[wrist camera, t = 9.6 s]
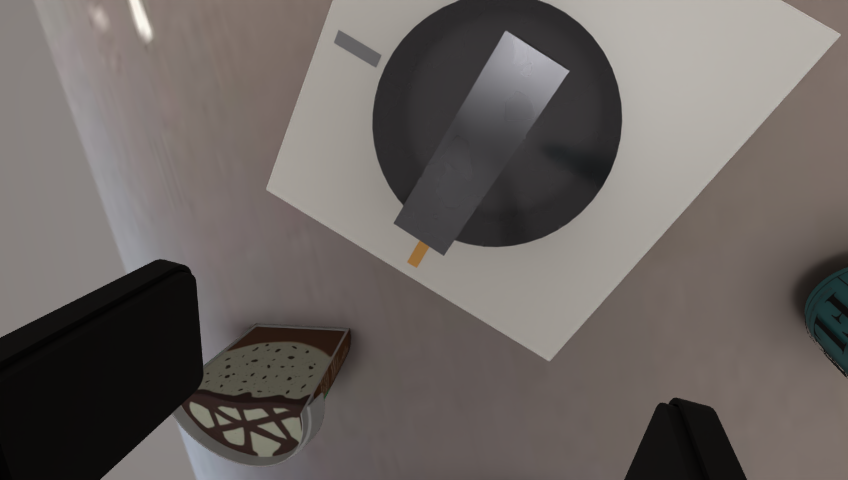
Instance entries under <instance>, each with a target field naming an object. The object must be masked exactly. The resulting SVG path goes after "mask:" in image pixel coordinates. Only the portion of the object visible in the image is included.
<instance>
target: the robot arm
mask: <svg viewBox="0 0 848 480" xmlns="http://www.w3.org/2000/svg"><path fill="white" fill-rule="evenodd" d="M203 376H204V371H203V359H202V347H201V334H200V322H199V310H198V298H197V286H196V279H195V277H194V275H192V273H191V270H190V269H189V267H187V266H185V265H182V264H178V263H175V262H171V261H167V260H162V259H159V260H155V261H153V262H151V263H149V264H147V265H145V266H143V267H141V268H139V269H137V270H135V271H133V272H131V273H129V274H127V275H125V276H123V277H121V278H119V279H117V280H115V281H113V282H111V283H109V284H107V285H105V286H103V287H101V288H99V289H97V290H95V291H93V292H91V293H89V294H87V295H85V296H83V297H81V298H79V299H77V300H75V301H73V302H71V303H69V304H67V305H65V306H63V307H61V308H59V309H57V310H55V311H53V312H51V313H49V314H47V315H45V316H43V317H41V318H39V319H37V320H35V321H33V322H31V323H29V324H27V325H25V326H23V327H21V328H19V329H17V330H15V331H13V332H11V333H9V334H7V335H5V336H3V337H1V338H0V480H100V479H101V478H102V477H103V476H104V475H106V474H107V473H108V472H109V471H110V470H111V469H112V468H113V467H114V466H115V465H116V464H118V463H119V462H120V461H121V460H122V459H123V458H124V457H125V456H126V455H127V454H128V453H129V452H131V451H132V449H134V448H135V447H136V446H137V445H138V444H139V443H140V442H141V441H142V440H144V439H145V438H146V437H147V436H148V435H149V434H150V433H151V432H152V431H153V430H154V429H156V428H157V427H158V426H159V425H160V424H161V423H162V422H163V421H164V420H165V419H166V418H167V417H169V416H170V415H171V414H172V413H173V412H174V411H175V410H176V409H177V408H178V407H179V406H180V405H182V404H183V403H184V402H185V401H186V400H187V399H188V398H189V397H190V396H191V395H192V394H194V393H195V392H196V390H197V389H198V388H199V386H200V385H201V383H202V380H203ZM624 480H747V479H746V476H745V474H744V472H743V470H742V468H741V466H740V463H739V461H738V459H737V457H736V455H735V453H734V450H733V448H732V446H731V444H730V442H729V440H728V437H727V435H726V433H725V431H724V429H723V427H722V424H721V422H720V420H719V418H718V416H717V414H716V412H715V410H714V409H713V408H711V407H709V406H706V405H702V404H698V403H695V402H691V401H687V400H683V399H680V398H673V399H672V400H671V401H670V402H669V404H666V403H659V404H658V406H657V407H656V409H655V412H654V414H653V416H652V418H651V421H650V423H649V425H648V427H647V430H646V432H645V434H644V436H643V439H642V441H641V443H640V445H639V448H638V450H637V452H636V455H635V457H634V459H633V461H632V464H631V466H630V468H629V470H628V473H627V475H626V477H625V479H624Z"/></svg>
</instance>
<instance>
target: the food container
mask: <svg viewBox="0 0 848 480" xmlns="http://www.w3.org/2000/svg"><path fill="white" fill-rule="evenodd" d="M350 344H351V334H350V328H332V327H312V326H292V325H272V324H255V325H254V326H253V327H251V328H250V329H249V330H248V331H246V332H245V333H244V334H243V335H241V336H240V337H239V338H238V339H236V340H235V341H234V342H233V343H231V344H230V345H229V346H228V347H226V348H225V349H224V350H223V351H221V352H220V353H219V354H218V355H216V356H215V357H214V358H213V359H211V360H210V361H209V362H208V363H206V364H205V365H204V366H203V371H204V376H203V380H202V383H201V385H200V386H199V388H198V389H197V390H196V392H195V393H194V394H192V395H191V396H190V397H189V398H188V399H187V400H186V401H185V402H184V403H183V404H182V405H180V406H179V407H178V408H177V409H176V410H175V411H174V412H173V413H172V415H173V417H174V418H175V419H176V421H177V422H178V423H179V425H180V426H181V427H182V428H183V429H184V430H185V431H186V432H187V433H188V434H189V435H190V436H191V437H192V438H193V439H194V440H196V441H197V442H198V443H199V444H201V445H202V446H203V447H205V448H206V449H208V450H209V451H211V452H213V453H214V454H216V455H218V456H220V457H222V458H224V459H226V460H229V461H232V462H235V463H238V464H241V465H246V466H252V467H269V466H274V465H278V464H280V463H282V462H285V461H286V460H288V459H289V458H291V457H293V456H294V455H296V454H297V453H298V452H300V451H301V450H302V449H303V448H304V447H305V446H306V445H307V444H308V443H309V442H310V441H311V440H312V439H313V437H314V436H315V435H316V434H317V432H318V431H319V429H320V427H321V425H322V422H323V418H324V407H325V403H324V399H325V397H326V395H327V394H328V392H329V390H330V388H331V386H332V384H333V382H334V380H335V378H336V376H337V374H338V372H339V370H340V368H341V366H342V364H343V362H344V360H345V358H346V356H347V354H348V352H349V348H350Z"/></svg>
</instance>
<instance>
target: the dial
mask: <svg viewBox="0 0 848 480" xmlns="http://www.w3.org/2000/svg"><path fill="white" fill-rule="evenodd" d="M621 129H622V105H621V98H620V93H619V88H618V84H617V81H616V78H615V75H614V72H613V69H612V67H611V65H610V63H609V61H608V59H607V57H606V55H605V53H604V51H603V50H602V49H601V47H600V46H599V44H598V43H597V42H596V40H595V39H594V38H593V36H592V35H591V34H590V33H589V32H588V31H587V30H586V29H585V28H584V27H583V26H582V25H581V24H580V23H579V22H577V21H576V20H575V19H573V18H572V17H571V16H569V15H568V14H567V13H565V12H563V11H562V10H560V9H558V8H556V7H554V6H552V5H550V4H548V3H545V2H542V1H540V0H459V1H456V2H454V3H452V4H449V5H447V6H444V7H442V8H441V9H439V10H437V11H436V12H434V13H432V14H431V15H429V16H428V17H426V18H425V19H424V20H422V21H421V22H420V23H419V24H417V25H416V26H415V27H414V28H413V29H412V30H411V31H410V32H409V33H408V34H407V35H406V36H405V37H404V38H403V40H402V41H401V42H400V44H399V45H398V46H397V48H396V49H395V50H394V52H393V53H392V55H391V57H390V59H389V60H388V62H387V64H386V66H385V68H384V70H383V73H382V75H381V78H380V80H379V83H378V87H377V91H376V95H375V99H374V107H373V120H372V130H373V139H374V146H375V151H376V155H377V159H378V162H379V165H380V167H381V170H382V173H383V175H384V177H385V179H386V181H387V183H388V185H389V187H390V188H391V190H392V191H393V193H394V194H395V196H396V197H397V199H398V200H399V201H400V202H401V203H402V205H403V207H402V209H401V211H400V213H399V214H398V216H397V218H396V219H395V221H394V223H393V224H395V225H397V226H398V227H400V228H401V229H403V230H404V231H406V232H407V233H409V234H410V235H412V236H414V237H415V238H417V239H418V240H420V241H421V242H423V243H424V244H426V245H428V246H429V247H431V248H432V249H434V250H435V251H437V252H438V253H440V254H441V255H443V256H444V255H445V253H446V252H447V250H448V249H449V248H450V246H451V245H452V243H453V242H454V240H455V241H458V242H462V243H465V244H469V245H476V246H482V247H506V246H515V245H519V244H524V243H528V242H531V241H534V240H537V239H540V238H543V237H545V236H547V235H549V234H551V233H553V232H555V231H557V230H559V229H560V228H562V227H563V226H565V225H566V224H568V223H569V222H571V221H572V220H573V219H574V218H575V217H577V216H578V215H579V214H580V213H581V212H582V211H583V210H584V209H585V208H586V207H587V206H588V205H589V204H590V203H591V202H592V201H593V199H594V198H595V196H596V195H597V194H598V192H599V191H600V190H601V188H602V187H603V185H604V183H605V181H606V179H607V177H608V176H609V174H610V172H611V169H612V167H613V164H614V161H615V159H616V156H617V152H618V148H619V143H620V139H621Z"/></svg>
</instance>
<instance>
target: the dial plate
mask: <svg viewBox="0 0 848 480" xmlns="http://www.w3.org/2000/svg"><path fill="white" fill-rule="evenodd" d="M456 1H459V0H333V1H332V4H331V7H330V10H329V13H328V15H327V18H326V21H325V24H324V27H323V30H322V32H321V35H320V38H319V41H318V44H317V47H316V49H315V52H314V55H313V58H312V61H311V63H310V66H309V69H308V72H307V75H306V78H305V80H304V83H303V86H302V89H301V92H300V95H299V97H298V100H297V103H296V106H295V109H294V112H293V114H292V117H291V120H290V123H289V126H288V129H287V131H286V134H285V137H284V140H283V143H282V146H281V148H280V151H279V154H278V157H277V160H276V162H275V165H274V168H273V171H272V174H271V177H270V179H269V182H268V185H267V188H266V190H267V191H269V192H271V193H272V194H274V195H276V196H277V197H279V198H281V199H282V200H284V201H286V202H287V203H289V204H291V205H292V206H294V207H295V208H297V209H299V210H300V211H302V212H304V213H305V214H307V215H309V216H310V217H312V218H314V219H315V220H317V221H319V222H320V223H322V224H324V225H325V226H327V227H328V228H330V229H332V230H333V231H335V232H337V233H338V234H340V235H342V236H343V237H345V238H347V239H348V240H350V241H352V242H353V243H355V244H356V245H358V246H360V247H361V248H363V249H365V250H366V251H368V252H370V253H371V254H373V255H375V256H376V257H378V258H380V259H381V260H383V261H384V262H386V263H388V264H389V265H391V266H393V267H394V268H396V269H398V270H399V271H401V272H403V273H404V274H406V275H408V276H409V277H411V278H413V279H414V280H416V281H417V282H419V283H421V284H422V285H424V286H426V287H427V288H429V289H431V290H432V291H434V292H436V293H437V294H439V295H441V296H442V297H444V298H445V299H447V300H449V301H450V302H452V303H454V304H455V305H457V306H459V307H460V308H462V309H464V310H465V311H467V312H469V313H470V314H472V315H474V316H475V317H477V318H478V319H480V320H482V321H483V322H485V323H487V324H488V325H490V326H492V327H493V328H495V329H497V330H498V331H500V332H502V333H503V334H505V335H506V336H508V337H510V338H511V339H513V340H515V341H516V342H518V343H520V344H521V345H523V346H525V347H526V348H528V349H530V350H531V351H533V352H535V353H536V354H538V355H539V356H541V357H543V358H544V359H546V360H548V361H550V360H551V359H552V358H553V357H554V356H555V355H556V354H557V352H558V351H559V350H560V349H561V348H562V347H563V346H564V345H565V343H566V342H567V341H568V340H569V339H570V338H571V337H572V336H573V334H574V333H575V332H576V331H577V330H578V329H579V328H580V327H581V326H582V324H583V323H584V322H585V321H586V320H587V319H588V318H589V317H590V315H591V314H592V313H593V312H594V311H595V310H596V309H597V308H598V306H599V305H600V304H601V303H602V302H603V301H604V300H605V299H606V298H607V296H608V295H609V294H610V293H611V292H612V291H613V290H614V289H615V287H616V286H617V285H618V284H619V283H620V282H621V281H622V280H623V278H624V277H625V276H626V275H627V274H628V273H629V272H630V271H631V270H632V268H633V267H634V266H635V265H636V264H637V263H638V262H639V261H640V259H641V258H642V257H643V256H644V255H645V254H646V253H647V252H648V250H649V249H650V248H651V247H652V246H653V245H654V244H655V243H656V242H657V240H658V239H659V238H660V237H661V236H662V235H663V234H664V233H665V231H666V230H667V229H668V228H669V227H670V226H671V225H672V224H673V222H674V221H675V220H676V219H677V218H678V217H679V216H680V215H681V213H682V212H683V211H684V210H685V209H686V208H687V207H688V206H689V205H690V203H691V202H692V201H693V200H694V199H695V198H696V197H697V196H698V194H699V193H700V192H701V191H702V190H703V189H704V188H705V187H706V185H707V184H708V183H709V182H710V181H711V180H712V179H713V178H714V177H715V175H716V174H717V173H718V172H719V171H720V170H721V169H722V168H723V166H724V165H725V164H726V163H727V162H728V161H729V160H730V159H731V157H732V156H733V155H734V154H735V153H736V152H737V151H738V150H739V149H740V147H741V146H742V145H743V144H744V143H745V142H746V141H747V140H748V138H749V137H750V136H751V135H752V134H753V133H754V132H755V131H756V129H757V128H758V127H759V126H760V125H761V124H762V123H763V122H764V121H765V119H766V118H767V117H768V116H769V115H770V114H771V113H772V112H773V110H774V109H775V108H776V107H777V106H778V105H779V104H780V103H781V101H782V100H783V99H784V98H785V97H786V96H787V95H788V94H789V92H790V91H791V90H792V89H793V88H794V87H795V86H796V85H797V84H798V82H799V81H800V80H801V79H802V78H803V77H804V76H805V75H806V73H807V72H808V71H809V70H810V69H811V68H812V67H813V66H814V64H815V63H816V62H817V61H818V60H819V59H820V58H821V57H822V56H823V54H824V53H825V52H826V51H827V50H828V49H829V48H830V47H831V45H832V44H833V43H834V42H835V41H836V40H837V39H838V38H839V36H840V35H841V34H839V33H838V32H836V31H834V30H832V29H831V28H829V27H827V26H825V25H824V24H822V23H820V22H818V21H817V20H815V19H813V18H811V17H810V16H808V15H806V14H804V13H803V12H801V11H799V10H797V9H796V8H794V7H792V6H790V5H789V4H787V3H785V2H783V1H782V0H540V1H542V2H545V3H548V4H550V5H552V6H554V7H556V8H558V9H560V10H562V11H563V12H565V13H567V14H568V15H569V16H571V17H572V18H573V19H575V20H576V21H577V22H579V23H580V24H581V25H582V26H583V27H584V28H585V29H586V30H587V31H588V32H589V33H590V34H591V35H592V36H593V38H594V39H595V40H596V42H597V43H598V44H599V46H600V47H601V49H602V50H603V51H604V53H605V55H606V57H607V59H608V61H609V63H610V65H611V67H612V69H613V72H614V75H615V78H616V81H617V84H618V88H619V93H620V98H621V105H622V129H621V139H620V143H619V148H618V152H617V156H616V159H615V161H614V164H613V167H612V169H611V172H610V174H609V176H608V177H607V179H606V181H605V183H604V185H603V187H602V188H601V190H600V191H599V192H598V194H597V195H596V196H595V198H594V199H593V201H592V202H591V203H590V204H589V205H588V206H587V207H586V208H585V209H584V210H583V211H582V212H581V213H580V214H579V215H578V216H577V217H575V218H574V219H573V220H572V221H571V222H569V223H568V224H566V225H565V226H563V227H562V228H560V229H559V230H557V231H555V232H553V233H551V234H549V235H547V236H545V237H543V238H540V239H537V240H534V241H531V242H528V243H524V244H519V245H515V246H506V247H482V246H476V245H469V244H465V243H462V242H458V241H455V240H454V242H453V243H452V245H451V246H450V248H449V249H448V250H447V252H446V253H445V255H444V256H443V255H441V254H440V253H438V252H437V251H435V250H434V249H432V248H431V247H429V246H428V245H426V244H424V243H423V242H421V241H420V240H418V239H417V238H415V237H414V236H412V235H410V234H409V233H407V232H406V231H404V230H403V229H401V228H400V227H398V226H397V225H395V224H393V223H394V221H395V219H396V218H397V216H398V214H399V213H400V211H401V209H402V207H403V205H402V203H401V202H400V201H399V200H398V199H397V197H396V196H395V194H394V193H393V191H392V190H391V188H390V187H389V185H388V183H387V181H386V179H385V177H384V175H383V173H382V170H381V167H380V165H379V162H378V159H377V155H376V151H375V146H374V139H373V130H372V120H373V107H374V99H375V95H376V91H377V87H378V83H379V80H380V78H381V75H382V73H383V70H384V68H385V66H386V64H387V62H388V60H389V59H390V57H391V55H392V53H393V52H394V50H395V49H396V48H397V46H398V45H399V44H400V42H401V41H402V40H403V38H404V37H405V36H406V35H407V34H408V33H409V32H410V31H411V30H412V29H413V28H414V27H415V26H416V25H417V24H419V23H420V22H421V21H422V20H424V19H425V18H426V17H428V16H429V15H431V14H432V13H434V12H436V11H437V10H439V9H441V8H442V7H444V6H447V5H449V4H452V3H454V2H456Z"/></svg>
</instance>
